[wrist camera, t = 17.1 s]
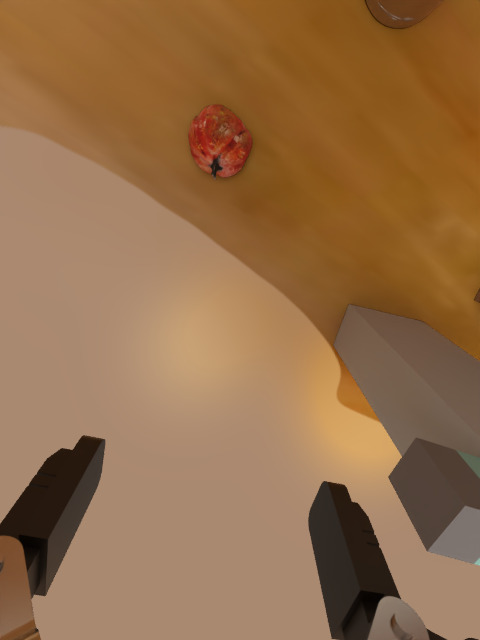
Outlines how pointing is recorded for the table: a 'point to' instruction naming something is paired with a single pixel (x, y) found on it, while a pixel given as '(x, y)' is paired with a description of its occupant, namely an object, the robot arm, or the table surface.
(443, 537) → the teal bar
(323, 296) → the table surface
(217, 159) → the pomegranate
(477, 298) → the walnut stand
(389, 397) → the grey stand
